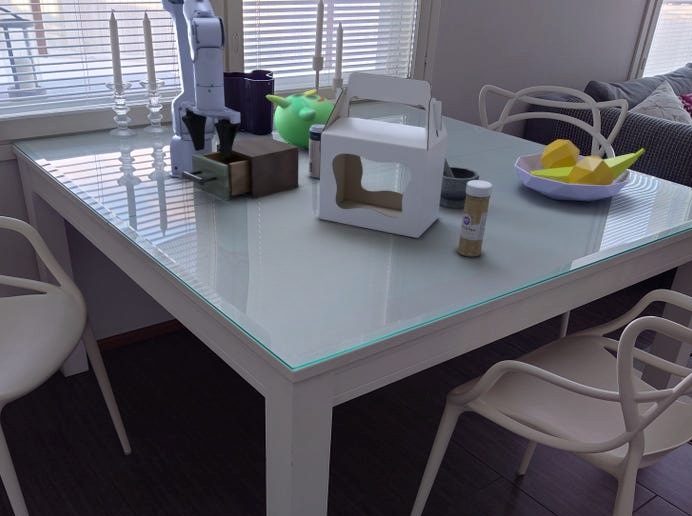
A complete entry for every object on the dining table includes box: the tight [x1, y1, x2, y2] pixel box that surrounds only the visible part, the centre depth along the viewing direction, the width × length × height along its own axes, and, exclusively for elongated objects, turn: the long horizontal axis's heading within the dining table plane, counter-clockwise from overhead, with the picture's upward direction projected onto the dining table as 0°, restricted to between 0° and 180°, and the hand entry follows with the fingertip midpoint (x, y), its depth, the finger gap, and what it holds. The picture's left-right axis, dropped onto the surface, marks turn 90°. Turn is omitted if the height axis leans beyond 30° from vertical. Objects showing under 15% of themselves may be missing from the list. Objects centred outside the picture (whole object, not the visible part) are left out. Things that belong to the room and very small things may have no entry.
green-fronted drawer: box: [182, 150, 251, 201], centre depth 152 cm, size 17×11×7 cm, turn 135°
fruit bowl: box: [514, 138, 646, 202], centre depth 163 cm, size 28×27×11 cm
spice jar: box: [308, 124, 325, 180], centre depth 166 cm, size 5×5×12 cm
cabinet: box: [215, 135, 300, 199], centre depth 159 cm, size 14×13×9 cm
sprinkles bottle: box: [456, 179, 493, 258], centre depth 128 cm, size 5×5×14 cm
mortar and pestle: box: [439, 157, 480, 209], centre depth 153 cm, size 11×9×12 cm
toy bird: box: [265, 89, 338, 149], centre depth 188 cm, size 18×17×15 cm
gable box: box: [318, 71, 449, 239], centre depth 138 cm, size 22×13×28 cm, turn 66°
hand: (212, 153), depth 145 cm, fingers open, 7 cm apart
